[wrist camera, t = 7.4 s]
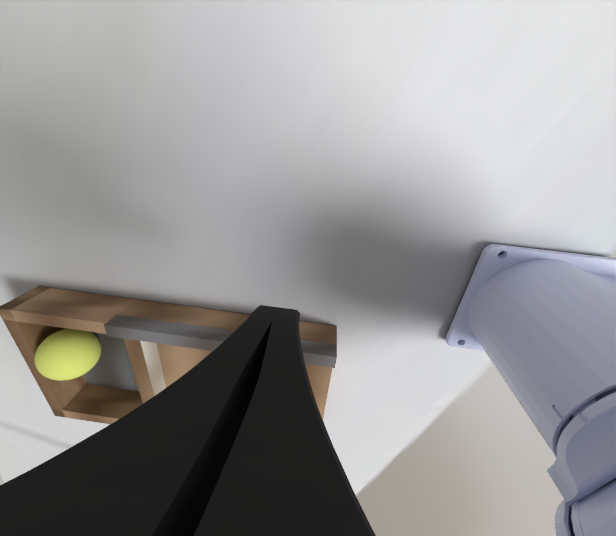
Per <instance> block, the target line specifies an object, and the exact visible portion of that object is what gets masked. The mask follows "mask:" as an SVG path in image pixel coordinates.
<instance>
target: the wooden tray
mask: <svg viewBox="0 0 616 536" xmlns="http://www.w3.org/2000/svg"><path fill="white" fill-rule="evenodd" d="M0 315H1V317H2V319H3V321H4V322H5V324H6V326H7V328H8V330H9V332H10V333H11V335H12V337H13V339H14V341H15V343H16V345H17V346H18V348H19V350H20V352H21V354H22V356H23V357H24V359H25V361H26V363H27V365H28V367H29V368H30V370H31V372H32V374H33V376H34V378H35V380H36V381H37V383H38V385H39V387H40V389H41V391H42V392H43V394H44V396H45V398H46V400H47V402H48V403H49V405H50V407H51V409H52V411H53V413H54V414H55V416H61V417H67V418H74V419H80V420H87V421H93V422H100V423H106V424H112V423H114V422H115V421H117V420H119V419H120V418H122V417H123V416H125V415H126V414H128V413H130V412H131V411H133V410H134V409H136V408H137V407H139V406H140V405H142V404H143V403H145V402H146V401H148V400H149V399H151V398H152V397H154V396H155V395H157V394H158V393H159V392H161V391H162V390H164V389H165V388H166V387H168V386H169V385H171V384H172V383H173V382H175V381H176V380H177V379H179V378H180V377H181V376H183V375H184V374H185V373H187V372H188V371H189V370H190V369H192V368H193V367H194V366H195V365H197V364H198V363H199V362H200V361H201V360H203V359H204V358H205V357H206V356H207V355H208V354H210V353H211V352H212V351H213V350H214V349H216V348H217V347H218V346H219V345H220V344H221V343H222V342H223V341H224V340H225V339H227V338H228V337H229V336H230V335H231V334H232V333H233V332H234V331H235V330H236V329H237V328H238V327H239V326H240V325H241V324H242V323H243V322H244V321H245V320H246V319H247V318H248V317H249V316H250V314H243V313H235V312H228V311H220V310H213V309H205V308H198V307H190V306H183V305H175V304H168V303H160V302H153V301H145V300H138V299H130V298H123V297H115V296H108V295H100V294H93V293H85V292H78V291H70V290H63V289H55V288H48V287H40V286H38V287H36V288H34V289H32V290H31V291H29V292H27V293H25V294H23V295H21V296H19V297H17V298H15V299H13V300H11V301H10V302H8V303H6V304H4V305H2V306H0ZM64 329H75V330H82V331H89V332H92V333H93V334H94V335H95V336H96V337H97V338H98V339H99V341H100V344H101V355H100V358H99V360H98V361H97V363H96V364H95V366H94V367H93V368H92V369H91V370H89V371H88V372H87V373H85V374H84V375H82V376H80V377H77V378H74V379H70V380H63V381H60V380H52V379H49V378H47V377H45V376H43V375H42V374H41V373H40V372H39V371H38V370H37V368H36V366H35V361H34V358H35V353H36V350H37V348H38V347H39V345H40V344H41V343H42V342H43V341H44V340H45V339H46V338H47V337H48V336H50V335H51V334H53V333H55V332H58V331H61V330H64ZM299 333H300V341H301V347H302V352H303V357H304V362H305V366H306V370H307V374H308V377H309V381H310V384H311V388H312V391H313V394H314V397H315V400H316V403H317V406H318V409H319V412H320V414H321V417H322V420H323V415H324V409H325V404H326V399H327V393H328V388H329V382H330V377H331V372H332V368H335V363H336V358H337V326H333V325H325V324H318V323H310V322H303V321H299Z"/></svg>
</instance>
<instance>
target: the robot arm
mask: <svg viewBox="0 0 616 536" xmlns="http://www.w3.org/2000/svg"><path fill="white" fill-rule="evenodd" d="M501 251H504V253H503V254H502V255H500V256H498V254H499V252H501ZM299 318H300V313H299V312H298V311H297V310H292V309H285V308H277V307H270V306H262V305H261V306H259V307H258V308H257V309H256V310H255V311H254V312H253V313H252V314H251V315H250V316H249V317H248V318H247V319H246V320H245V321H244V322H243V323H242V324H241V325H240V326H239V327H238V328H237V329H236V330H235V331H234V332H233V333H232V334H231V335H230V336H229V337H228V338H227V339H225V340H224V341H223V342H222V343H221V344H220V345H219V346H218V347H217V348H216V349H214V350H213V351H212V352H211V353H210V354H208V355H207V356H206V357H205V358H204V359H203V360H201V361H200V362H199V363H198V364H197V365H195V366H194V367H193V368H192V369H190V370H189V371H188V372H187V373H185V374H184V375H183V376H181V377H180V378H179V379H177V380H176V381H175V382H173V383H172V384H171V385H169V386H168V387H166V388H165V389H164V390H162V391H161V392H159V393H158V394H157V395H155V396H154V397H152V398H151V399H149V400H148V401H146V402H145V403H143V404H142V405H140V406H139V407H137V408H136V409H134V410H133V411H131V412H130V413H128V414H126V415H125V416H123V417H122V418H120V419H119V420H117V421H115V422H114V423H112V424H110V425H109V426H107V427H106V428H104V429H102V430H100V431H99V432H97V433H95V434H93V435H92V436H90V437H88V438H87V439H85V440H83V441H81V442H80V443H78V444H76V445H74V446H73V447H71V448H69V449H68V450H66V451H64V452H62V453H61V454H59V455H57V456H55V457H53V458H52V459H50V460H48V461H46V462H44V463H43V464H41V465H39V466H37V467H35V468H33V469H31V470H30V471H28V472H26V473H24V474H22V475H20V476H18V477H16V478H14V479H12V480H10V481H8V482H6V483H4V484H3V485H0V536H376V535H375V533H374V531H373V530H372V528H371V526H370V524H369V522H368V520H367V518H366V516H365V514H364V512H363V510H362V508H361V506H360V504H359V502H358V500H357V498H356V496H355V494H354V492H353V489H352V487H351V485H350V483H349V481H348V478H347V476H346V474H345V472H344V469H343V467H342V465H341V463H340V461H339V458H338V456H337V454H336V452H335V449H334V447H333V445H332V443H331V440H330V438H329V435H328V433H327V430H326V428H325V425H324V422H323V420H322V417H321V414H320V412H319V409H318V406H317V403H316V400H315V397H314V394H313V391H312V388H311V384H310V381H309V377H308V374H307V370H306V366H305V362H304V357H303V352H302V347H301V341H300V333H299ZM459 340H462V341H459ZM446 342H447V344H448V345H450V346H454V347H462V348H469V349H477V350H484V351H485V352H486V353H487V355H488V356H489V358H490V359H491V361H492V362H493V364H494V365H495V367H496V368H497V370H498V371H499V373H500V374H501V376H502V377H503V379H504V380H505V382H506V383H507V384H508V386H509V388H510V389H511V391H512V392H513V394H514V395H515V397H516V398H517V400H518V401H519V403H520V404H521V405H522V407H523V408H524V410H525V412H526V413H527V414H528V416H529V417H530V419H531V420H532V422H533V423H534V425H535V426H536V428H537V429H538V431H539V432H540V434H541V435H542V437H543V438H544V440H545V441H546V443H547V444H548V446H549V447H550V449H551V450H552V452H553V453H554V455H555V456H556V458H557V459H556V461H555V463H554V464H553V465H552V466H551V467H550V468H549V469H548V470H547V472H548V473H549V475H550V476H551V478H552V480H553V481H554V483H555V485H556V486H557V488H558V489H559V491H560V493H561V494H562V496H563V498H564V500H563V501H562V502H561V503H560V504H559V506H558V507H557V510H556V514H555V529H556V535H557V536H616V258H610V257H601V256H593V255H584V254H576V253H567V252H559V251H550V250H542V249H533V248H525V247H516V246H508V245H499V244H490V245H488V246H486V247H485V248H484V250H483V251H482V254H481V256H480V258H479V261H478V263H477V265H476V268H475V270H474V272H473V275H472V277H471V279H470V282H469V284H468V286H467V289H466V291H465V293H464V296H463V298H462V300H461V303H460V305H459V307H458V310H457V312H456V315H455V317H454V319H453V322H452V324H451V326H450V329H449V331H448V333H447V336H446Z"/></svg>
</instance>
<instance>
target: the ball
mask: <svg viewBox="0 0 616 536" xmlns="http://www.w3.org/2000/svg"><path fill="white" fill-rule="evenodd" d="M100 355H101V344H100V341H99V339H98V338H97V337H96V336H95V335H94V334H93V333H92V332H89V331H82V330H75V329H64V330H61V331H58V332H55V333H53V334H51V335H50V336H48V337H47V338H46V339H45V340H44V341H43V342H42V343H41V344H40V345H39V347H38V348H37V350H36V353H35V358H34V361H35V366H36V368H37V370H38V371H39V372H40V373H41V374H42V375H43V376H45V377H47V378H49V379H52V380H60V381H63V380H70V379H74V378H77V377H80V376H82V375H84V374H85V373H87V372H88V371H89V370H91V369H92V368H93V367H94V366H95V364H96V363H97V361H98V360H99V358H100Z"/></svg>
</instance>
